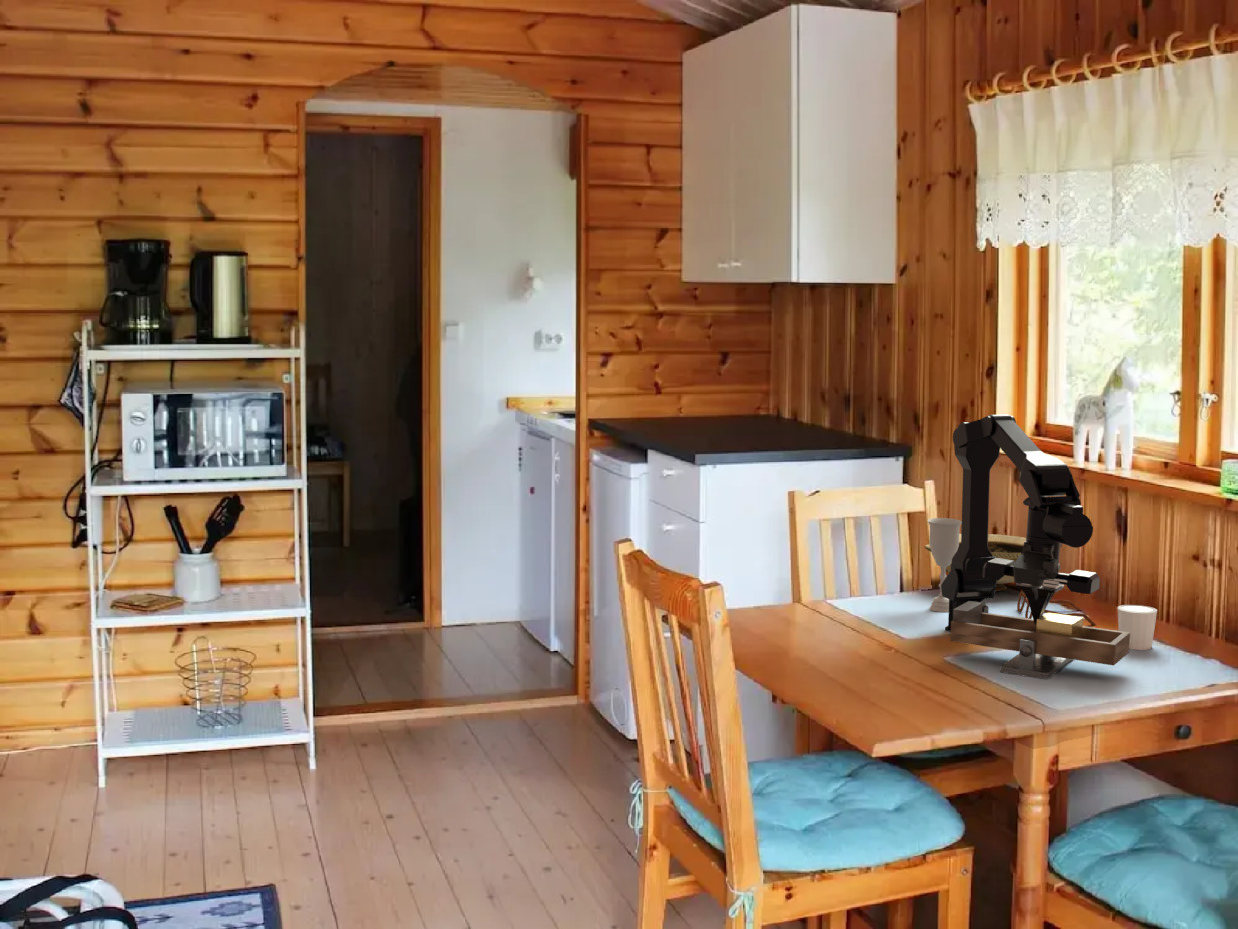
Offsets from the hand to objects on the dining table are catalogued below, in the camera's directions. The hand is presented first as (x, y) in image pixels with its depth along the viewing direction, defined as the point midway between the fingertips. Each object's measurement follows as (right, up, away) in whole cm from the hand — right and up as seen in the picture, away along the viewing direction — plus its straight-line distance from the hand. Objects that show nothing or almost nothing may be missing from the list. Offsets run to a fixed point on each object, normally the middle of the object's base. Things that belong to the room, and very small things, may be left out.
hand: (1036, 624), depth 253 cm
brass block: (+3, -3, -2) cm, 5 cm away
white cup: (+22, -6, +14) cm, 27 cm away
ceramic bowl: (+7, +1, +63) cm, 64 cm away
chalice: (-7, -2, +43) cm, 43 cm away
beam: (0, -3, 0) cm, 3 cm away
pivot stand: (0, -7, +1) cm, 7 cm away
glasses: (+14, -3, +36) cm, 39 cm away
